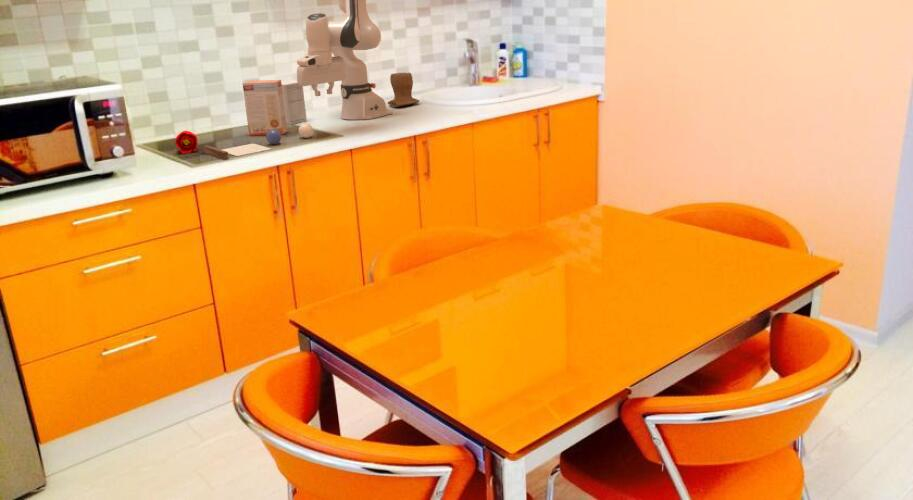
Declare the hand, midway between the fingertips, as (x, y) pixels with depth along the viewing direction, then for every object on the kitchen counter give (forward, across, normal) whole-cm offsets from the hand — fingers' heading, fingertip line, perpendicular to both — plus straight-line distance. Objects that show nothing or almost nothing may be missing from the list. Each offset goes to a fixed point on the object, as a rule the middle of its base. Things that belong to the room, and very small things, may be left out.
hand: (323, 94), depth 315 cm
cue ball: (+12, +10, 0) cm, 16 cm away
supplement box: (+15, -4, -33) cm, 37 cm away
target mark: (+15, +36, 0) cm, 39 cm away
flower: (+15, +50, -16) cm, 55 cm away
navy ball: (+12, +24, 0) cm, 27 cm away
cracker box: (+15, +16, -19) cm, 29 cm away
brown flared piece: (+15, -56, -25) cm, 64 cm away
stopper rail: (+15, +47, 0) cm, 49 cm away
